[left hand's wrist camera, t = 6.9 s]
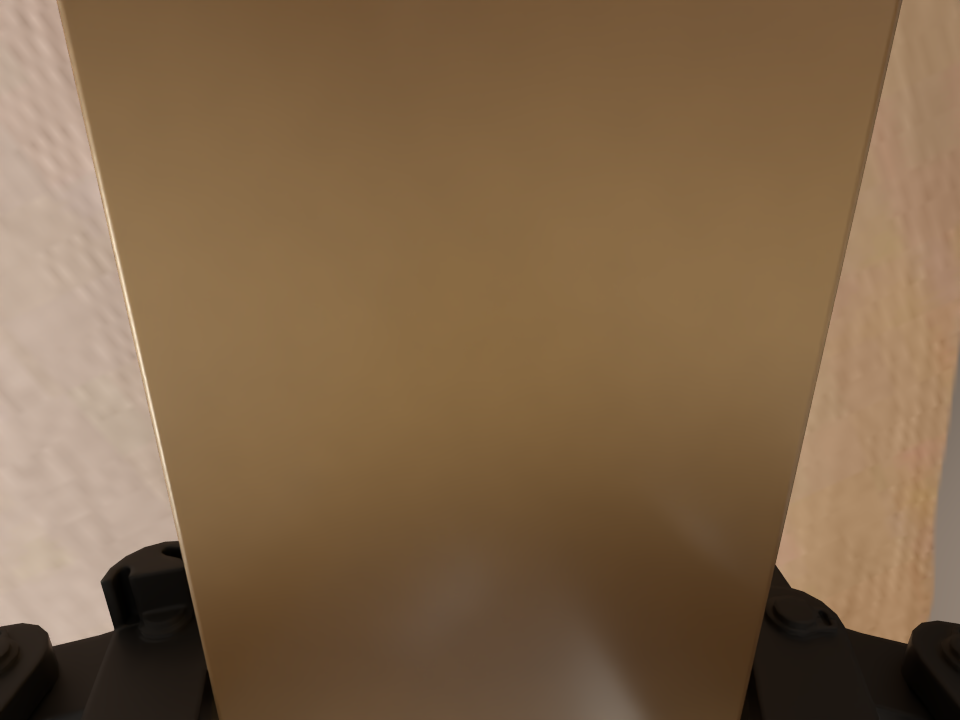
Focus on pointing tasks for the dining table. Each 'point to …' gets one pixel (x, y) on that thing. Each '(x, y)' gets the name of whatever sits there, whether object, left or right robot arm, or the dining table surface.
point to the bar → (479, 331)
